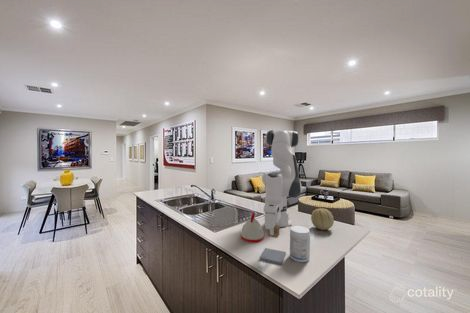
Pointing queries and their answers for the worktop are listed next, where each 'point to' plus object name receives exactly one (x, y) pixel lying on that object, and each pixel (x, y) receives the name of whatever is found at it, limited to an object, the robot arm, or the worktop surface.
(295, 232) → the supplement tub
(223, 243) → the worktop surface
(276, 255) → the slate coaster
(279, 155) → the robot arm
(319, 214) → the cantaloupe
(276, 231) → the walnut block
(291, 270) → the worktop surface
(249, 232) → the kitchen timer
